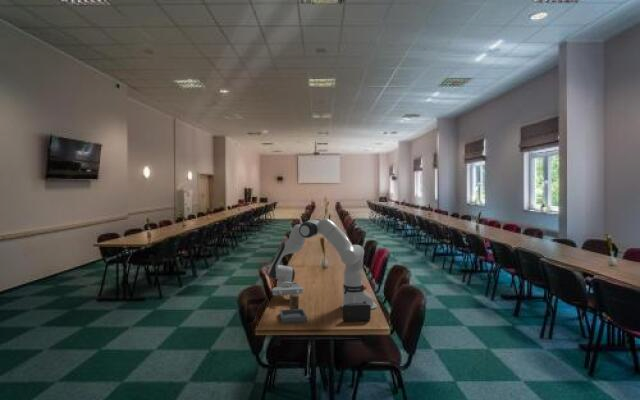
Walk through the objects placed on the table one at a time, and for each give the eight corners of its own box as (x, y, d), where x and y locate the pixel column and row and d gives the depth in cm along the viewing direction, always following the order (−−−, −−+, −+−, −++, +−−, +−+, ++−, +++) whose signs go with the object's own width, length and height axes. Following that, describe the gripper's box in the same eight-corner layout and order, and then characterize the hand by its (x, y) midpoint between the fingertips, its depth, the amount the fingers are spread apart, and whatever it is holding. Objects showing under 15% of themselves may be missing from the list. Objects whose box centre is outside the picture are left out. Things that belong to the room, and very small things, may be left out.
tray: (303, 313, 218) (303, 308, 218) (307, 322, 205) (307, 316, 205) (280, 315, 216) (280, 310, 216) (282, 323, 202) (282, 318, 202)
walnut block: (296, 310, 225) (296, 294, 225) (298, 312, 221) (298, 296, 221) (289, 310, 224) (289, 294, 224) (291, 313, 220) (291, 296, 219)
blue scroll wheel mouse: (369, 318, 212) (369, 302, 211) (370, 321, 207) (371, 304, 207) (341, 319, 210) (341, 303, 210) (342, 322, 205) (342, 305, 205)
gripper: (270, 284, 244) (273, 290, 231) (300, 283, 250) (305, 288, 237) (270, 293, 244) (273, 300, 231) (300, 292, 250) (305, 297, 237)
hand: (289, 294), depth 234 cm, fingers open, 8 cm apart
